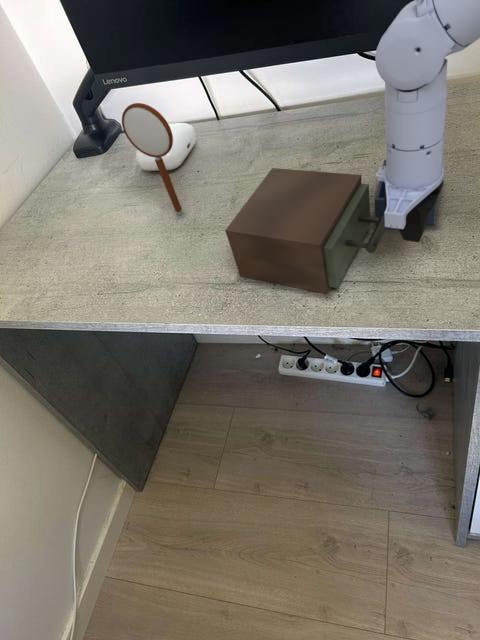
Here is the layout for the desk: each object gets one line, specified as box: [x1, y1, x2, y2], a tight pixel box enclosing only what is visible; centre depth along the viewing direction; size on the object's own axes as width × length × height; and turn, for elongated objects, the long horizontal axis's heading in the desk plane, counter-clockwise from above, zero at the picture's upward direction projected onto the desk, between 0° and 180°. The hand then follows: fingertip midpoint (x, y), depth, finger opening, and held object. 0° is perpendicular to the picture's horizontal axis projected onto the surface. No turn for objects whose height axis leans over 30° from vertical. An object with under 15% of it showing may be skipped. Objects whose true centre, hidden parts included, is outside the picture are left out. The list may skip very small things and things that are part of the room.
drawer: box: [323, 182, 389, 289], centre depth 67 cm, size 17×13×7 cm
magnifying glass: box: [121, 102, 183, 216], centre depth 78 cm, size 9×2×20 cm, turn 65°
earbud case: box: [135, 122, 197, 172], centre depth 98 cm, size 10×13×5 cm
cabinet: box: [225, 167, 363, 295], centre depth 68 cm, size 14×15×9 cm
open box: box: [373, 159, 438, 227], centre depth 71 cm, size 10×8×4 cm
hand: (412, 237), depth 60 cm, fingers closed
